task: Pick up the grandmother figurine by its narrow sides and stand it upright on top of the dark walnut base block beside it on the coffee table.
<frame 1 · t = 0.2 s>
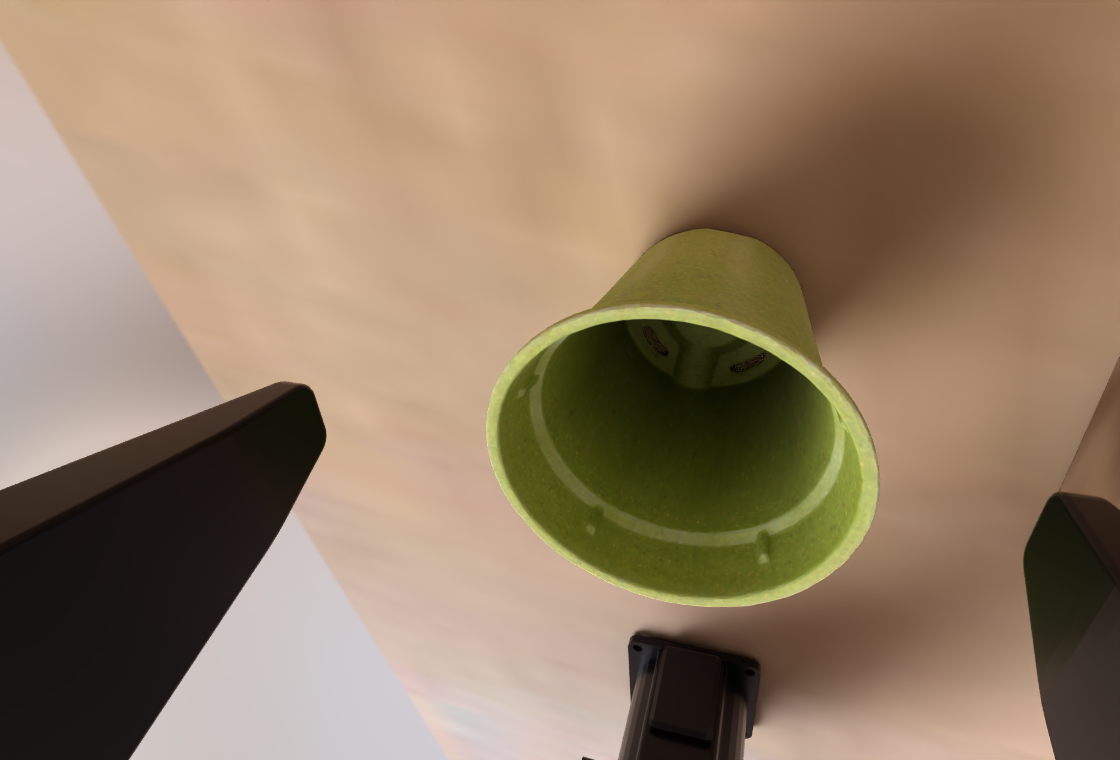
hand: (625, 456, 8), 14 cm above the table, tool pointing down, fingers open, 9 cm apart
plant pot: (709, 308, 23), on the table
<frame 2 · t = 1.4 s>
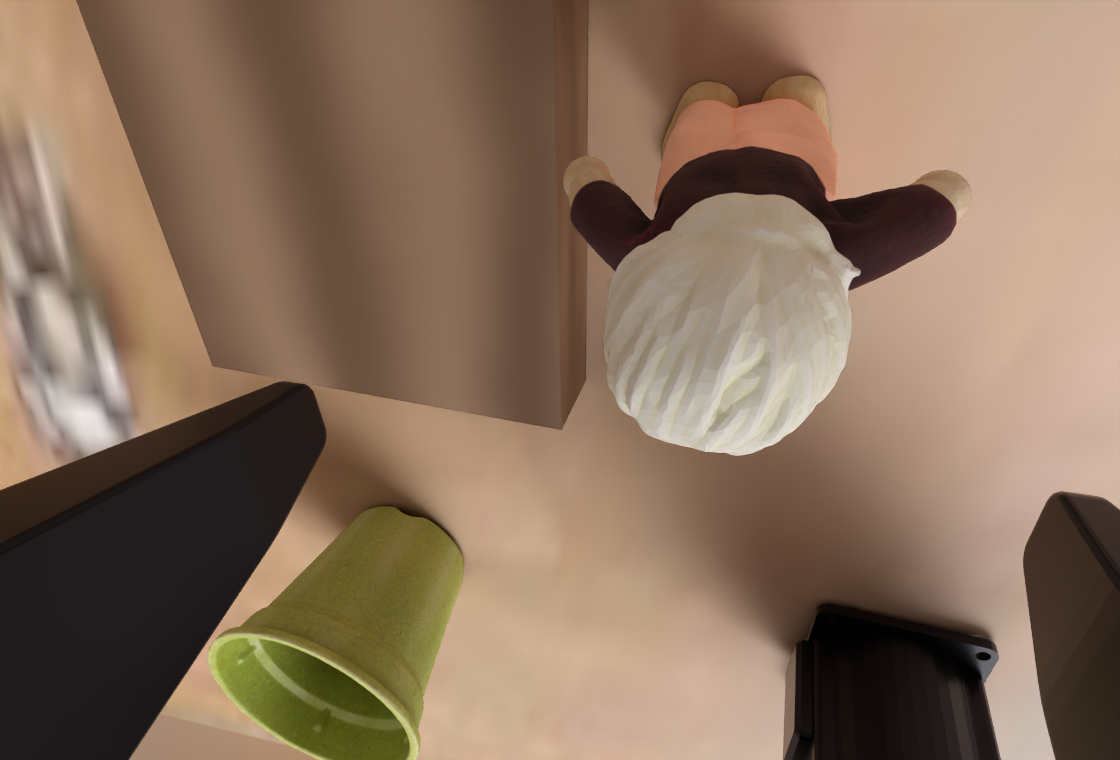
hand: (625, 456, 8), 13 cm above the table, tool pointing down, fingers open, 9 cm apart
walnut base: (383, 174, 22), on the table
plant pot: (413, 546, 34), on the table
grandmother figurine: (766, 132, 18), on the table
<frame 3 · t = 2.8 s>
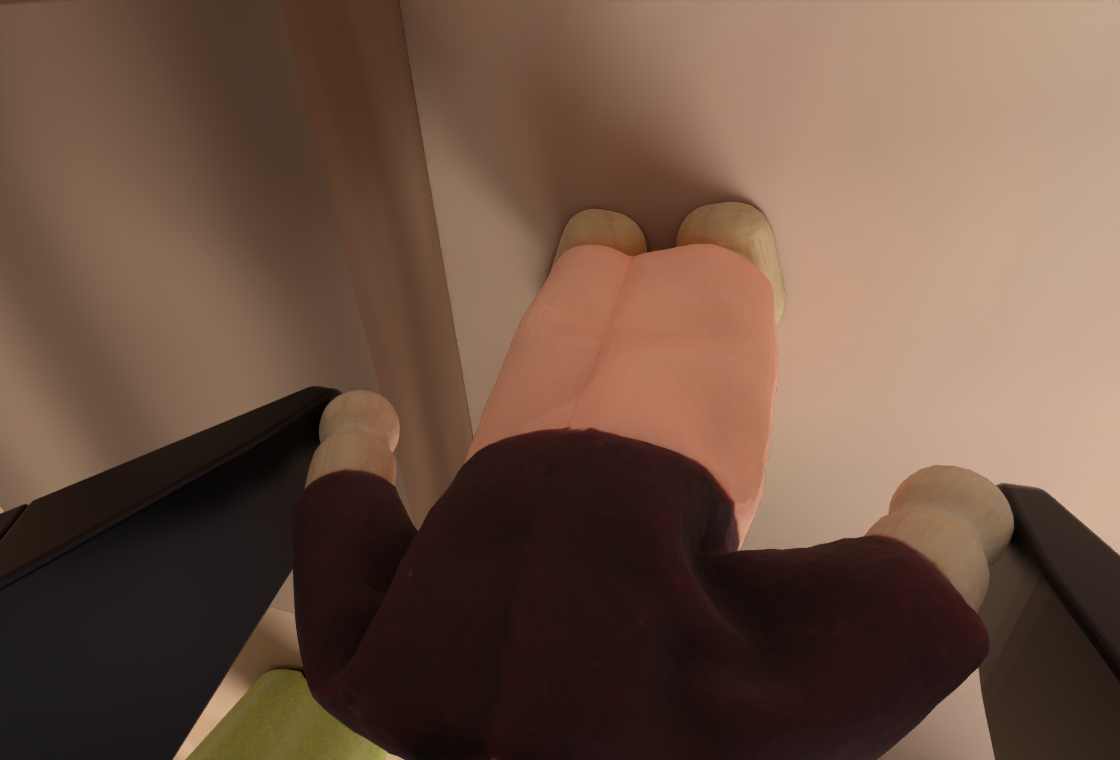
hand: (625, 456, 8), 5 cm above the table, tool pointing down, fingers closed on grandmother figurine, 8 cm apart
walnut base: (202, 315, 17), on the table
plant pot: (330, 707, 28), on the table
grandmother figurine: (691, 274, 12), on the table, touching gripper
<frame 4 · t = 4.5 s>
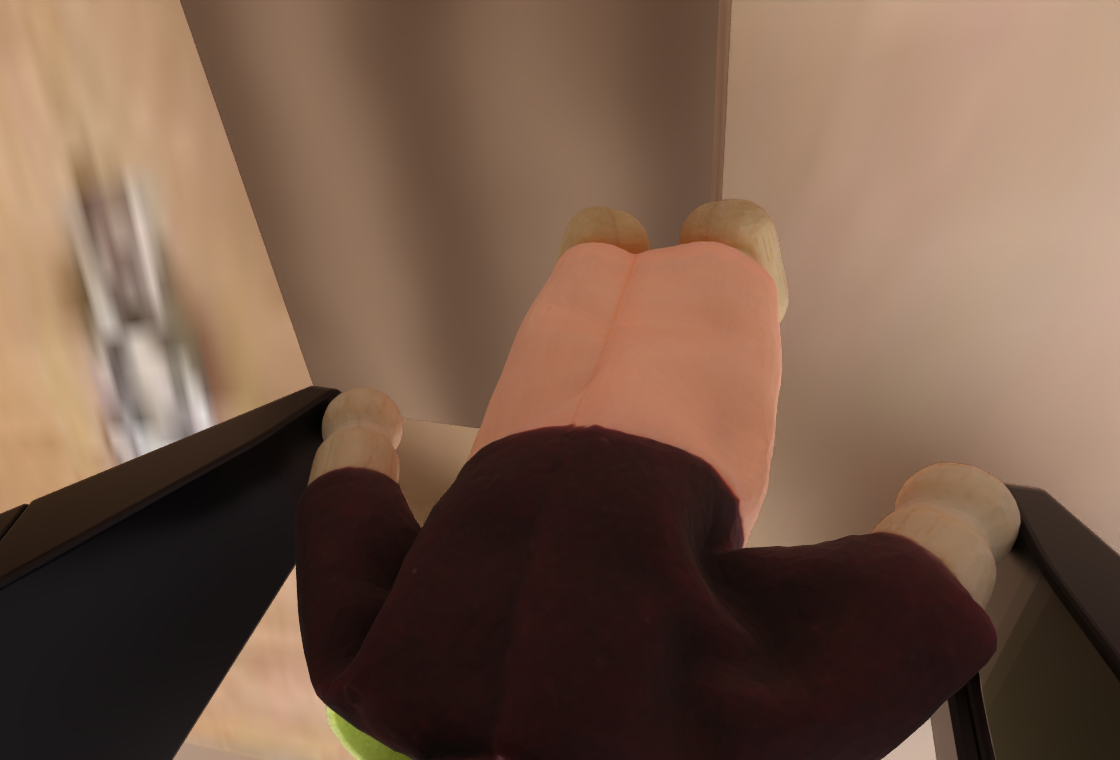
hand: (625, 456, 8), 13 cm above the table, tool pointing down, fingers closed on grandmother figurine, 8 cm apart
walnut base: (498, 201, 21), on the table
plant pot: (514, 579, 33), on the table
grandmother figurine: (694, 272, 12), point 8 cm above the table, touching gripper
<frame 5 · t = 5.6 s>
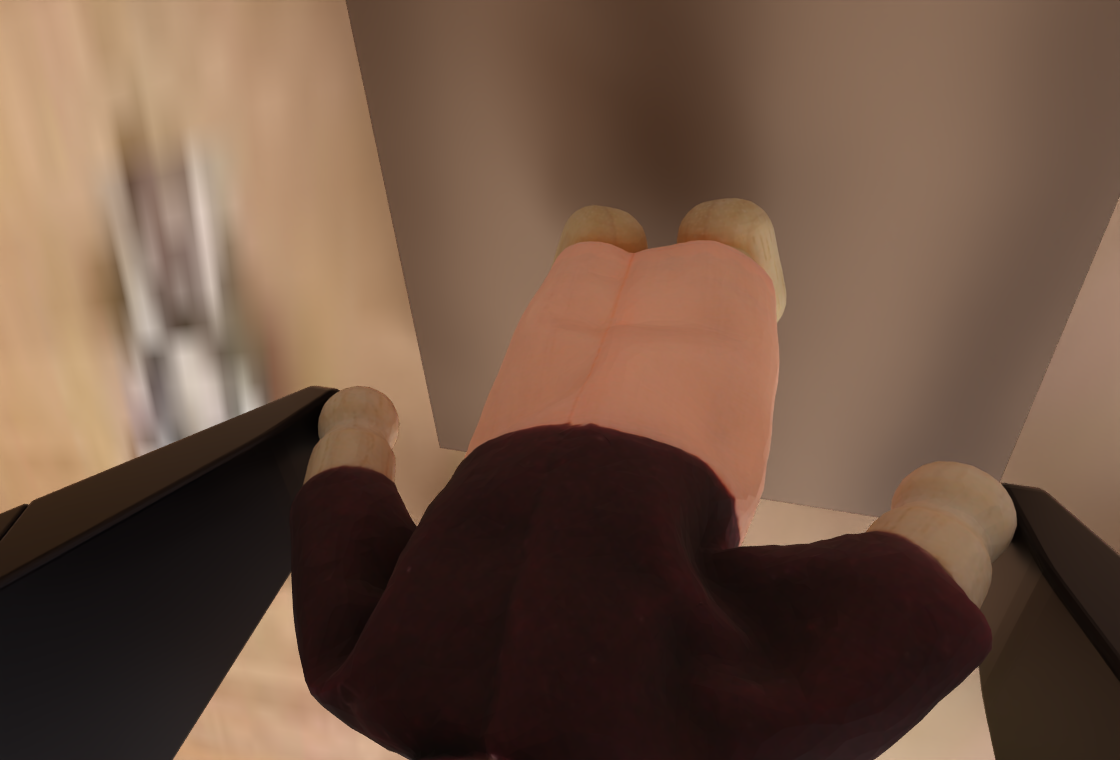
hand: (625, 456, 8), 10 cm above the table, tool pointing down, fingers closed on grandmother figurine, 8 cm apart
walnut base: (710, 187, 16), on the table
grandmother figurine: (691, 271, 12), point 5 cm above the table, touching gripper
when the fingers open (9 cm above the table, at t = 6.5 s): grandmother figurine stays where it is, resting on walnut base.
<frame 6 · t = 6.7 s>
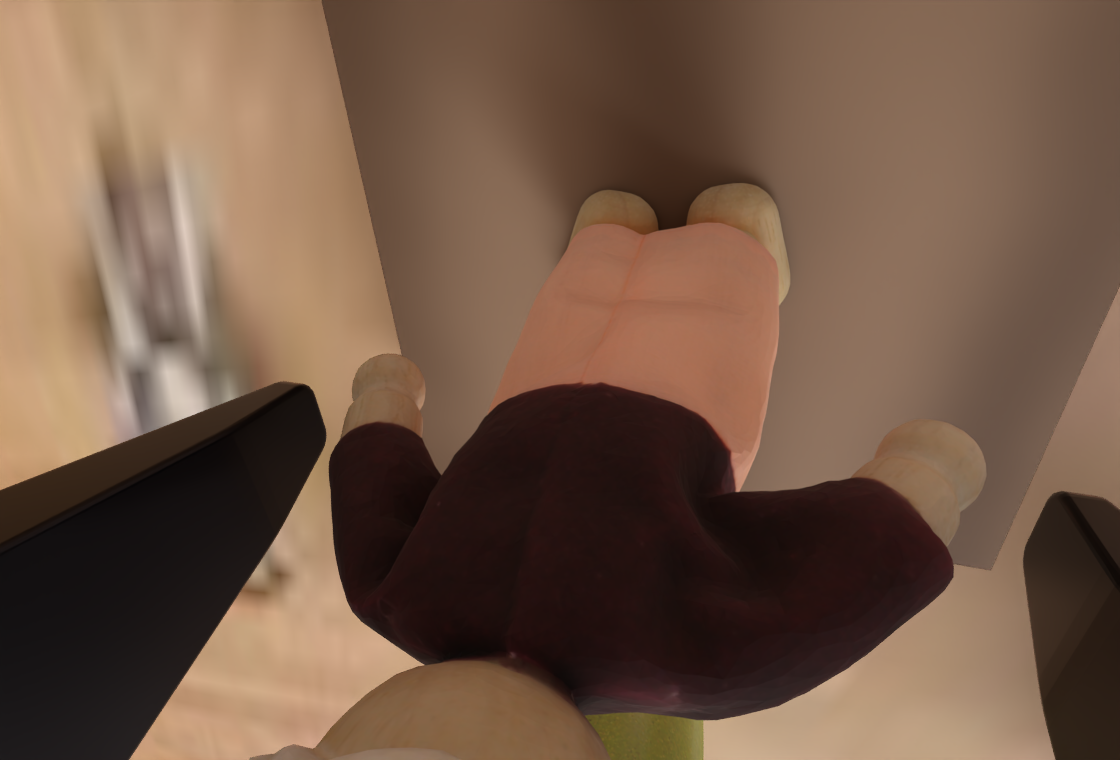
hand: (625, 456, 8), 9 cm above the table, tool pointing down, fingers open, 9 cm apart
walnut base: (709, 205, 15), on the table
plant pot: (628, 663, 27), on the table
grandmother figurine: (700, 253, 13), point 3 cm above the table, touching walnut base
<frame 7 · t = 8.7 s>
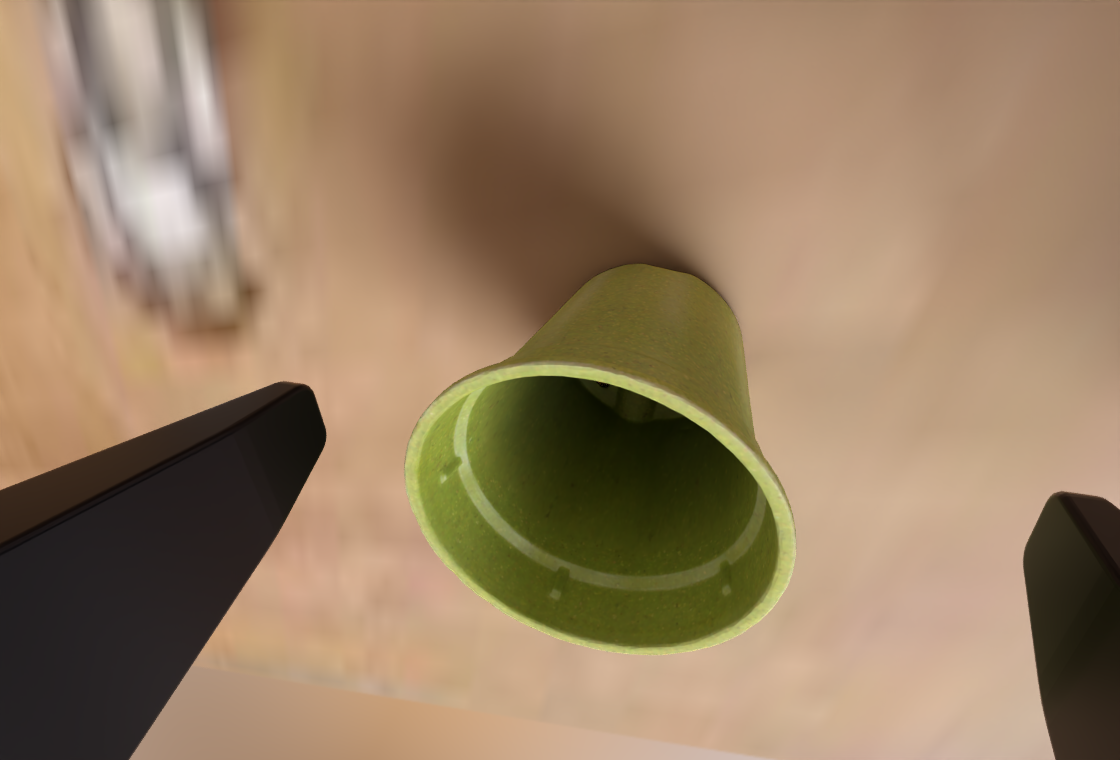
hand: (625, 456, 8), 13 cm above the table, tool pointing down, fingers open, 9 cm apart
plant pot: (652, 342, 23), on the table
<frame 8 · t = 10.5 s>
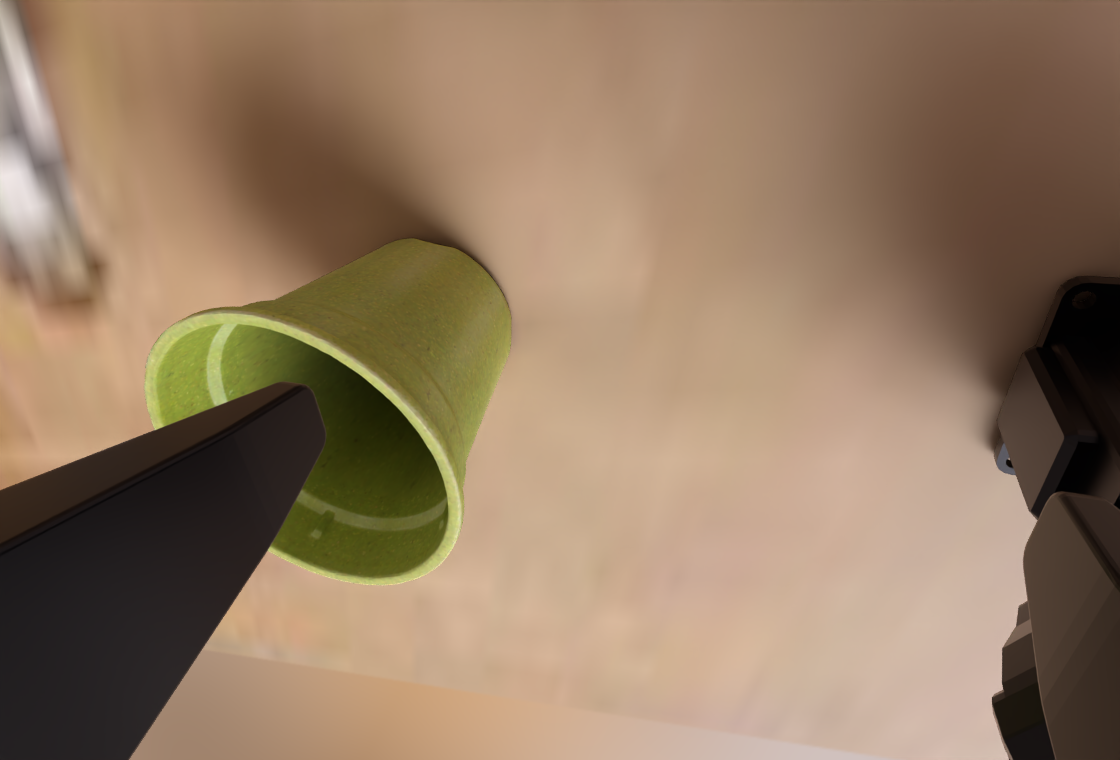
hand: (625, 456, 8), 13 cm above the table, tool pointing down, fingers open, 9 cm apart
plant pot: (441, 312, 25), on the table
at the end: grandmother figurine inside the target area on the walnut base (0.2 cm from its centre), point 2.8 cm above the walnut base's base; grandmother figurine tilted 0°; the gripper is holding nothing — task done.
